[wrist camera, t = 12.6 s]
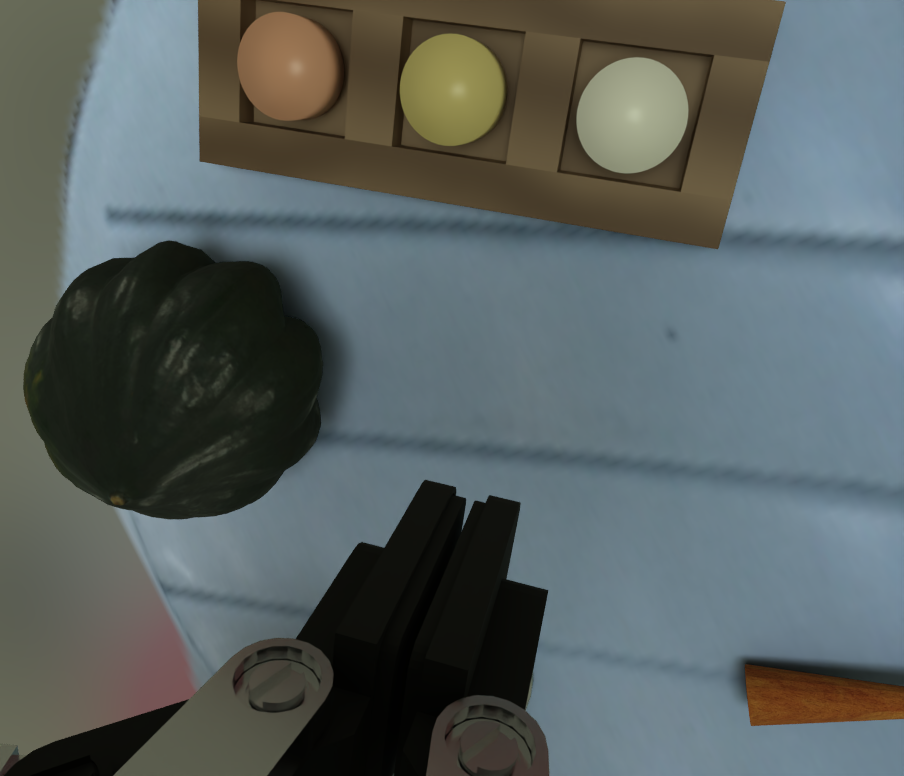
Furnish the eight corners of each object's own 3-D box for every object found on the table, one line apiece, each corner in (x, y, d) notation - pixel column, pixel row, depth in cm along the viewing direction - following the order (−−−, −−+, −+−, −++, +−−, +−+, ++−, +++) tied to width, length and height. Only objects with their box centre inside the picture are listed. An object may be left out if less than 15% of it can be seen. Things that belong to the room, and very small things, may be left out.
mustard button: (499, 150, 34) (492, 153, 32) (406, 136, 35) (395, 138, 33) (515, 43, 32) (508, 40, 31) (416, 31, 33) (405, 27, 31)
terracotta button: (340, 126, 35) (326, 127, 34) (255, 113, 36) (236, 113, 35) (347, 22, 34) (332, 18, 32) (256, 10, 34) (237, 6, 33)
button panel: (713, 239, 35) (718, 249, 33) (224, 158, 39) (199, 161, 37) (775, 9, 31) (785, 1, 29) (225, -53, 36) (197, -64, 33)
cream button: (671, 177, 33) (673, 181, 31) (570, 161, 33) (567, 164, 32) (697, 67, 31) (701, 65, 29) (590, 53, 32) (588, 50, 30)
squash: (23, 196, 37) (-110, 470, 30) (295, 182, 34) (213, 484, 27) (167, 340, 49) (95, 557, 43) (376, 339, 46) (334, 574, 40)
